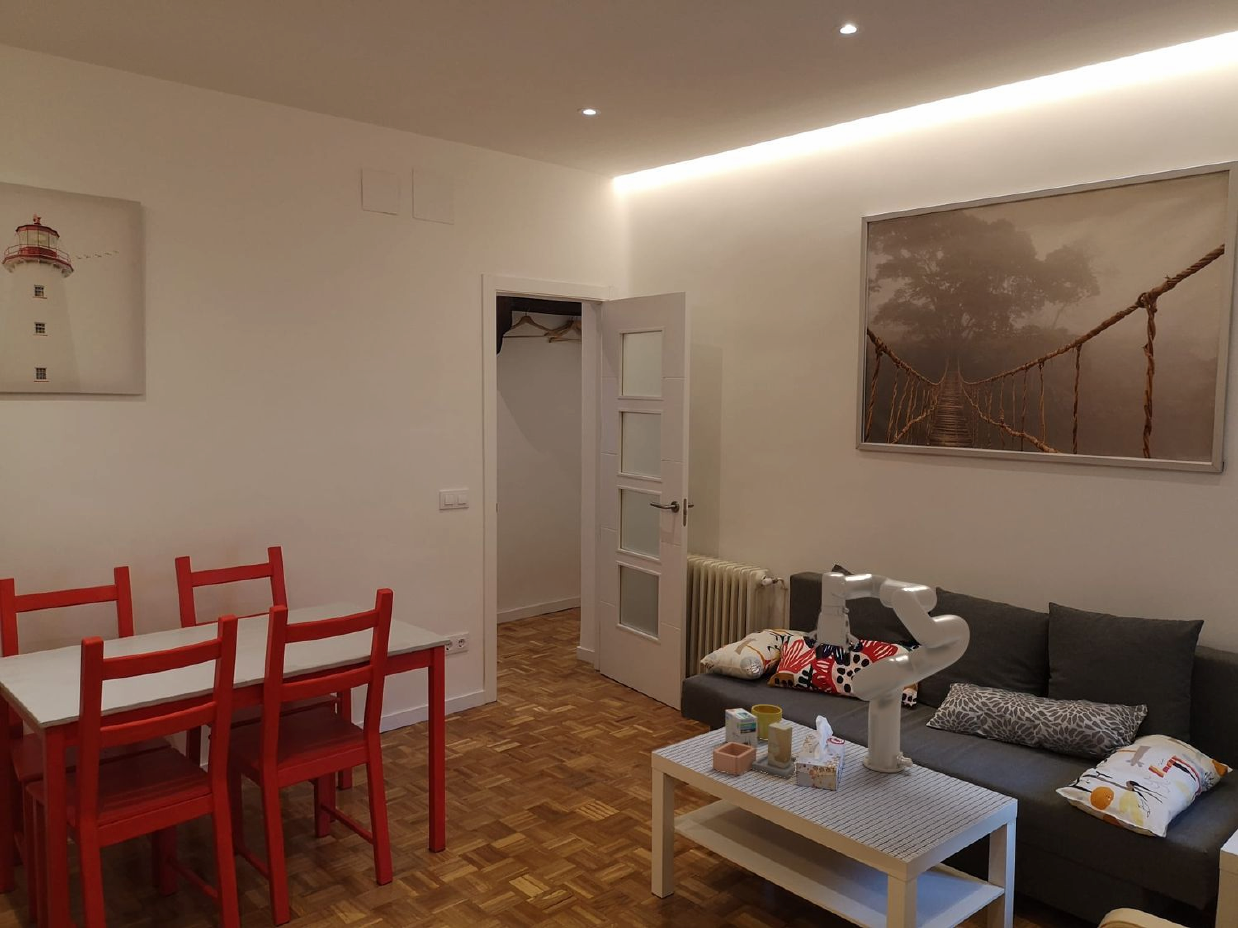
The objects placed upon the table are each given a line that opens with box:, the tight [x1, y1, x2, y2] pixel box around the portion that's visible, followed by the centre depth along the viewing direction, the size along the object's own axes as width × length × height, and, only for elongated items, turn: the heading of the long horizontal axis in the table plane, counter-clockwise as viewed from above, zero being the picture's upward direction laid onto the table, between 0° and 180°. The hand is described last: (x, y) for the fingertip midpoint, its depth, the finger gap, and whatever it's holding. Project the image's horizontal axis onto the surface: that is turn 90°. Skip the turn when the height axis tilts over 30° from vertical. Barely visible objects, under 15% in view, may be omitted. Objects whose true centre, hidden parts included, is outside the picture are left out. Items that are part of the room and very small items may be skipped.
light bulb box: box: [724, 707, 758, 749], centre depth 292 cm, size 11×7×11 cm, turn 22°
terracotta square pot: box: [712, 742, 757, 776], centre depth 273 cm, size 9×11×6 cm
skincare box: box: [767, 722, 793, 768], centre depth 273 cm, size 6×4×12 cm
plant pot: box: [750, 704, 783, 739], centre depth 300 cm, size 10×10×10 cm
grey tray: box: [750, 752, 798, 779], centre depth 273 cm, size 12×13×2 cm
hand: (832, 661), depth 291 cm, fingers open, 9 cm apart
